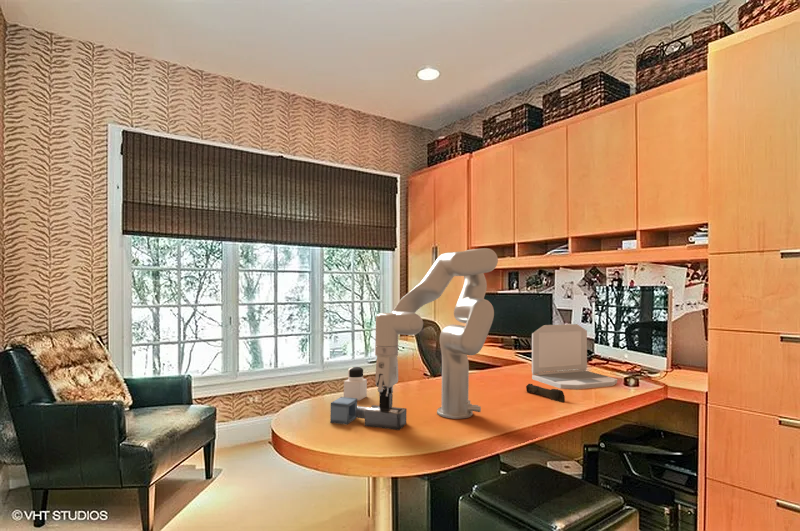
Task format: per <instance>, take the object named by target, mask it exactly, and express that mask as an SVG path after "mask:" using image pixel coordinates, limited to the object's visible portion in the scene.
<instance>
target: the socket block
mask: <svg viewBox="0 0 800 531" xmlns="http://www.w3.org/2000/svg"><path fill="white" fill-rule="evenodd" d="M357 406H358V400H357V398H347V397H344V396H340V397H339V398H337V399H335V400H333V401H331V402H330V417H329V418H330V420H329V422H330V424H338V425H339V424H340V425H348V424H350V423H351V422H353V421H354V420H355V419H357V418H356V415H355V412H356V408H357Z"/></svg>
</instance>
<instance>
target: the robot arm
mask: <svg viewBox="0 0 800 531" xmlns="http://www.w3.org/2000/svg"><path fill="white" fill-rule="evenodd" d="M498 262H499V258H498V255H497V253H496V252H495V251H494V250H493V249H491V248H487V247H486V248H485V247H484V248H483V247H482V248H473V249H467V250H466V249H465V250H463V251H450V252H444V253H441V254H440V255H438V257H437V258H436V260H435V261H434V262H433V264H432V265H431V267H430V268H429V269H428V271H427V273H425V275H424V276H423V278H422V280H420V282H419V283H418V284H417V285H416V286H415V287H413V288H412V289H411V290H409V291H408V292H407V293H406V294H405V295H404V296H403V297H401V299H400V300H399V301H398V303H397V304H396V305H395V307H394V308H393V310H392V311H391V312H380V313H378V314H376V316H375V339H374V340H375V341H374V342H375V345H374V346H375V348H374V350H375V352H374V353H375V354H374V355H375V356H376V364H375V386H376V387H377V392H378V393H379V394H378V396H379V405H378V406H379V407H380V408H383V409H389V396H388V392H392V398H393V393H394V391H393V390H394V386H395V385H396V384H398V382H399V363H398V362H399V360H398V356H399V335H405V336H406V335H407V336H415V335H416V334H417V335H418V334H419V333H420V332H421V331H422V329H423V328H424V327H423V326H424V321H423V319H422V317H421V316H420V315H419V314H418V313H416V312H417V311H418V310H419V309H421V308H422V307H423V306H425V305H428V304H429V303H433V302H434V301H436V300H438V299H439V298H441V297H442V296H443V293H444V292H445V290H446V289H447V287H448V285H449V284H450V283H451V281H452V280H453V278H455V277H463V280H464V281H463V286H462V289H461V291H460V293H459V297H458V299H457V301H456V304H455V307H454V310H453V317H454V319H456V321H458V322H459V323H462V324H465V325H460V324H448V325H446V326H444V327H443V329H442V330H441V331H440V335H439V345H440V346H439V347H440V352H441V353H440V354H441V406H440V407H439V408H437V409H436V410H437V411H436V414H437V415H439V417H443V418H446V419H455V420H459V419H460V420H461V419H468V418H470V417H472V416H473V414H474V413H473V412H476V413H481V411H482V407H481V406H480V405H478V404H472V403H471V400H470V399H469V387H470V386H469V380H470V379H469V373H470V372H469V370H470V368H469V367H470V365H469V359H468V356H474V355H477V354H479V353H480V352H481V350H482V348H483V347H484V345H485V342H486V340H487V337H488V335H489V332H490V330H491V327H492V324H493V322H494V316H495V310H494V306H493V305H492V303H491V302H490V301H489V300H488V299H485V295H486V294H487V293H486V292H487V289H488V285H487V284H488V283H487V279H486V276H485V274H487V273H490V272H492V271H493V270H495V269H496V267H497V266H498Z"/></svg>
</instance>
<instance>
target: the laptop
mask: <svg viewBox="0 0 800 531" xmlns="http://www.w3.org/2000/svg"><path fill="white" fill-rule="evenodd" d="M587 368H588V330H586V329H585V328H583V327H582V326H581V325H579V324H578V323H571V324H566V323H565V324H545V325H542V326H540V327H539V328H538V329H536V330H535V331H534V332H532V333H531V379H532V380H533V381H536V382H539V383H543V384H545V385H548V386H551V387H555V388H556V389H559V390H561V389H562V390H563V389H564V390H566V389H567V390H583V389H593V388H604V387H605V388H606V387H613V386H614V385H615V386H616V384H618V378H614V377H611V376H608V375H605V374H600V373H596V372H593V371H589V370H588V369H587Z"/></svg>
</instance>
